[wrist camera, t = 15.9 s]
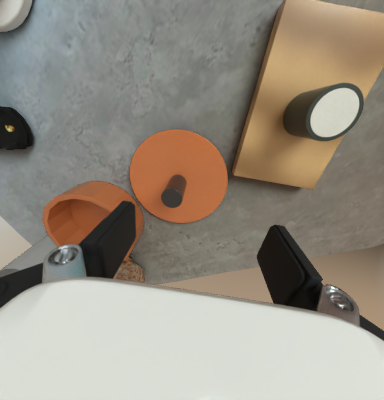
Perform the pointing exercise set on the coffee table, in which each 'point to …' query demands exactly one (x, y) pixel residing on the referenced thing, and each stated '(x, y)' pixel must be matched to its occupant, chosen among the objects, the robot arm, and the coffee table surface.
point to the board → (306, 85)
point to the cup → (30, 256)
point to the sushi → (324, 112)
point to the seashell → (130, 272)
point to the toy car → (13, 130)
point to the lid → (178, 176)
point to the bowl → (85, 212)
